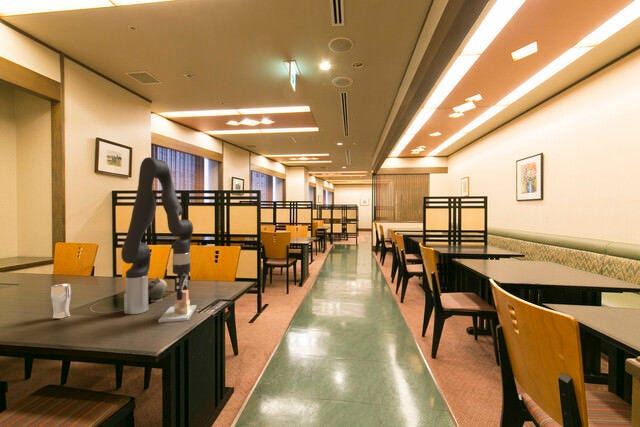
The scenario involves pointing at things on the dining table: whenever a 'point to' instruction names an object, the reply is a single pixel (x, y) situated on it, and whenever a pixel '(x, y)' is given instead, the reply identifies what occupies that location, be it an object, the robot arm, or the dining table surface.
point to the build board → (170, 316)
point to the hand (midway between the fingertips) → (181, 297)
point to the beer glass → (61, 300)
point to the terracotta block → (183, 297)
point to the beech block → (182, 308)
